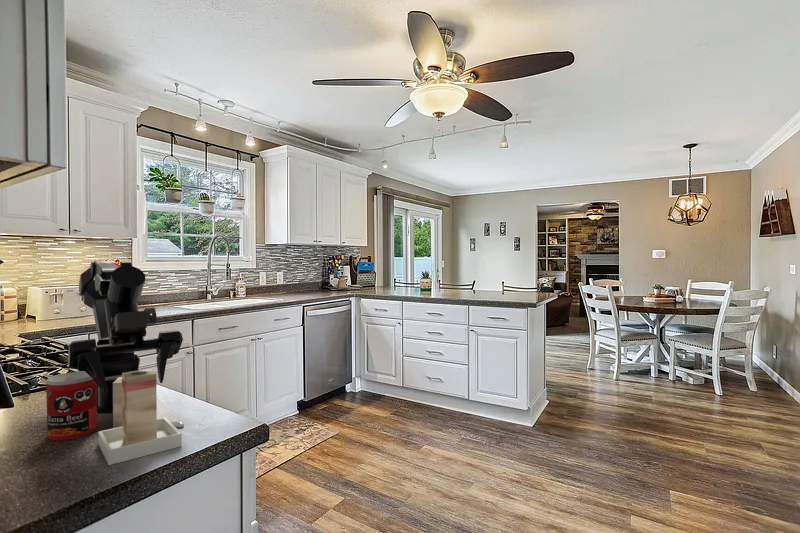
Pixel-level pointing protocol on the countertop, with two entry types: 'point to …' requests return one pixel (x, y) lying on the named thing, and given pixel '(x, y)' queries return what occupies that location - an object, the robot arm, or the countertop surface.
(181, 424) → the pin gauge
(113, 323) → the robot arm
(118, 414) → the block
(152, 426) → the block
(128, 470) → the countertop surface
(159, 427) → the tray
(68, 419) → the canned food
